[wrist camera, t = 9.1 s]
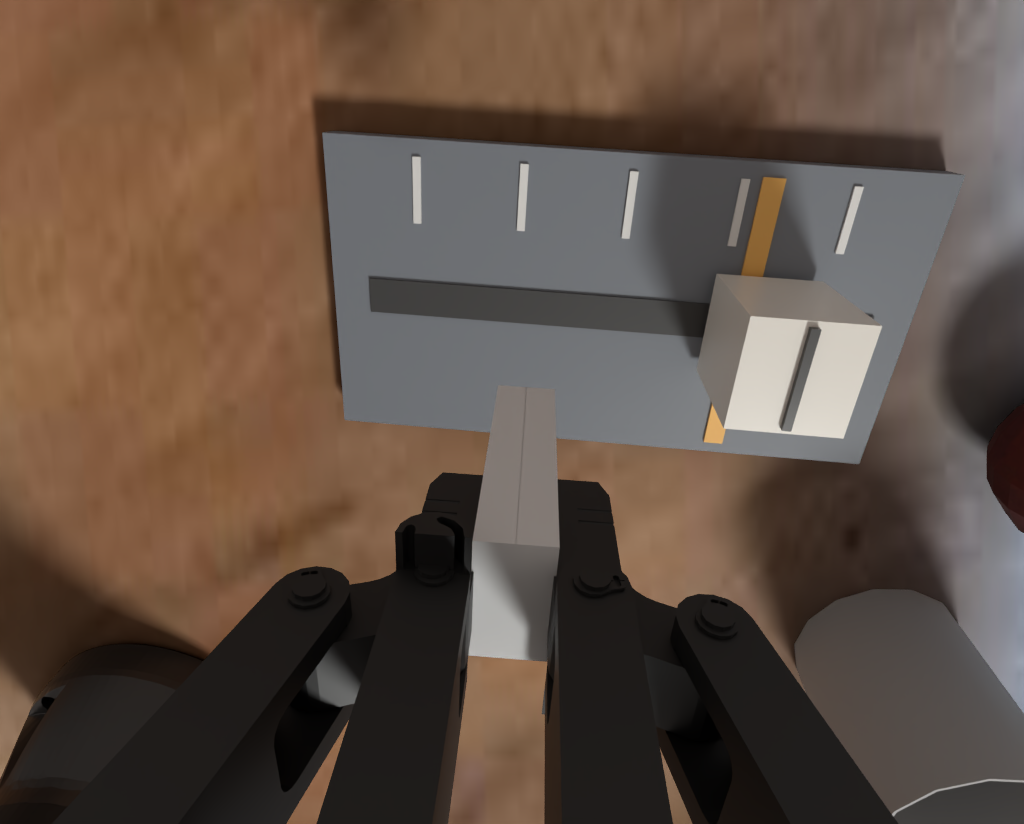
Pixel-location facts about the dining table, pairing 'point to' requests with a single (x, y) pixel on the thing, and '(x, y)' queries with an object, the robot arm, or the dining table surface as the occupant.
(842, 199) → the console
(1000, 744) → the cup
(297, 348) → the dining table surface
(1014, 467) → the potato
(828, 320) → the fader
